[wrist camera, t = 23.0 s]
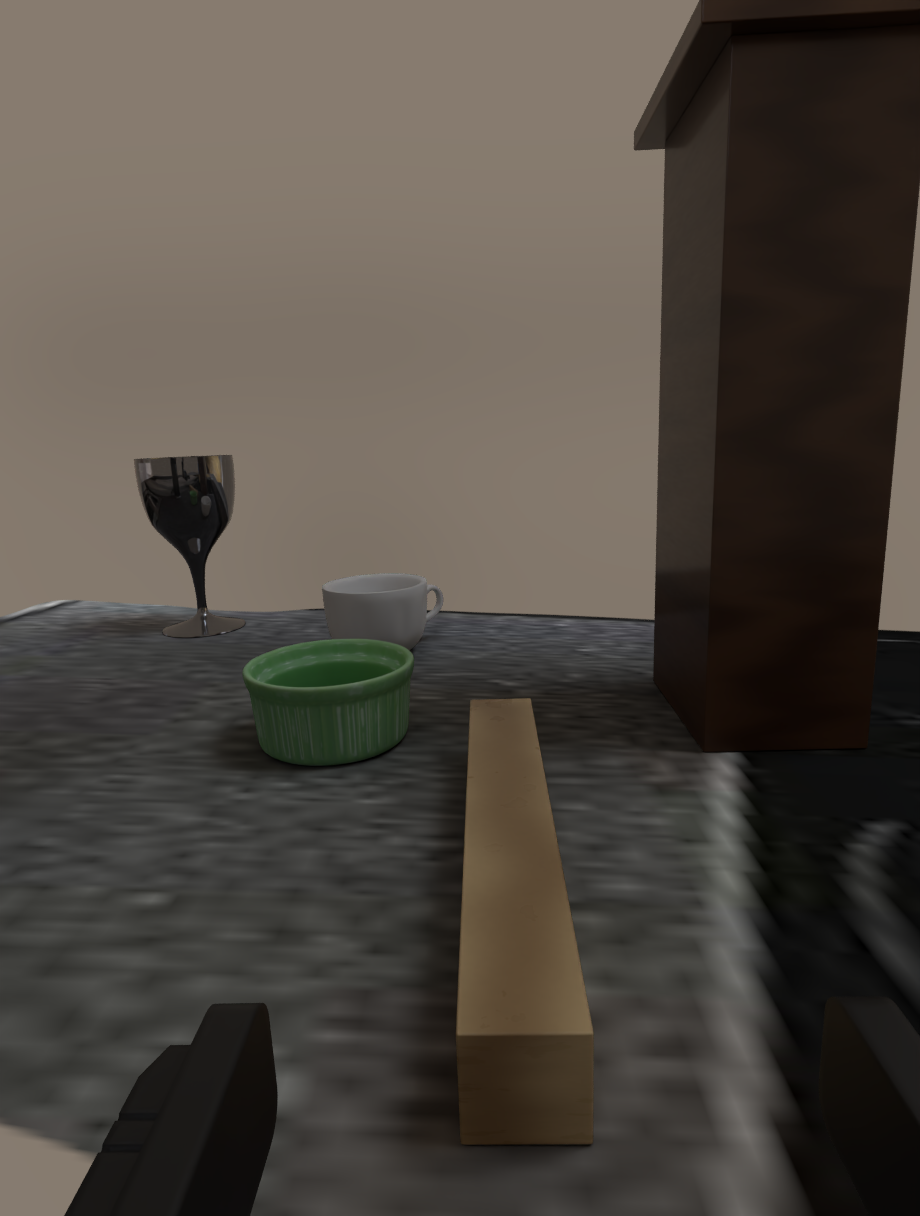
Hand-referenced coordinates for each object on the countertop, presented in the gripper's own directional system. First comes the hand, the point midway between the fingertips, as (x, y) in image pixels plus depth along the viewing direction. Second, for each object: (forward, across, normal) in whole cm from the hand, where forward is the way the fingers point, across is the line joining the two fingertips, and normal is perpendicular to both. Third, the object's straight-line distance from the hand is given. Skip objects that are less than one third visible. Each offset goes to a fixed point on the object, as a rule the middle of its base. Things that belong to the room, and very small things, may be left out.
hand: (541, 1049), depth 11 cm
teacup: (+45, +8, +7) cm, 47 cm away
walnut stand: (+31, -14, +7) cm, 35 cm away
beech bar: (+15, 0, +7) cm, 17 cm away
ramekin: (+28, +9, +7) cm, 31 cm away
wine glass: (+54, +26, +7) cm, 61 cm away
